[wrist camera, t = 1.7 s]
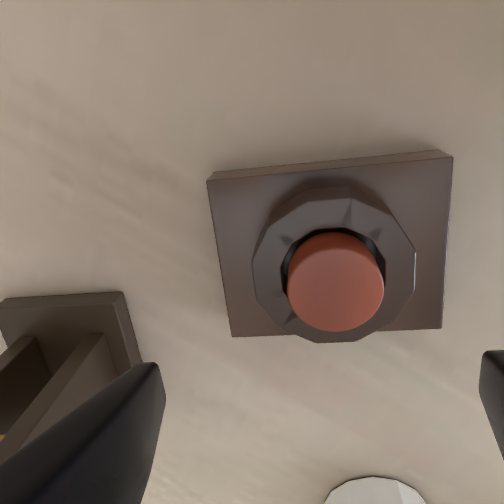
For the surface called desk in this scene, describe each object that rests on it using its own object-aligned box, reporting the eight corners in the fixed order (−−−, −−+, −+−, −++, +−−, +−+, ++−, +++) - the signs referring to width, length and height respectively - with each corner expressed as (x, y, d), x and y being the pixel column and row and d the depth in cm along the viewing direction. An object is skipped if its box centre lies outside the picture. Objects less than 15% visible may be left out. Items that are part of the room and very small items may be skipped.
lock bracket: (5, 298, 23) (-179, 439, 14) (123, 290, 22) (4, 438, 13) (49, 407, 26) (-80, 581, 17) (154, 405, 25) (75, 588, 16)
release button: (376, 227, 16) (384, 244, 15) (376, 307, 18) (384, 330, 16) (284, 234, 17) (283, 251, 15) (291, 311, 18) (291, 334, 16)
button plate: (440, 149, 18) (471, 166, 14) (431, 310, 21) (455, 353, 18) (213, 171, 19) (196, 191, 16) (236, 319, 22) (225, 360, 19)
